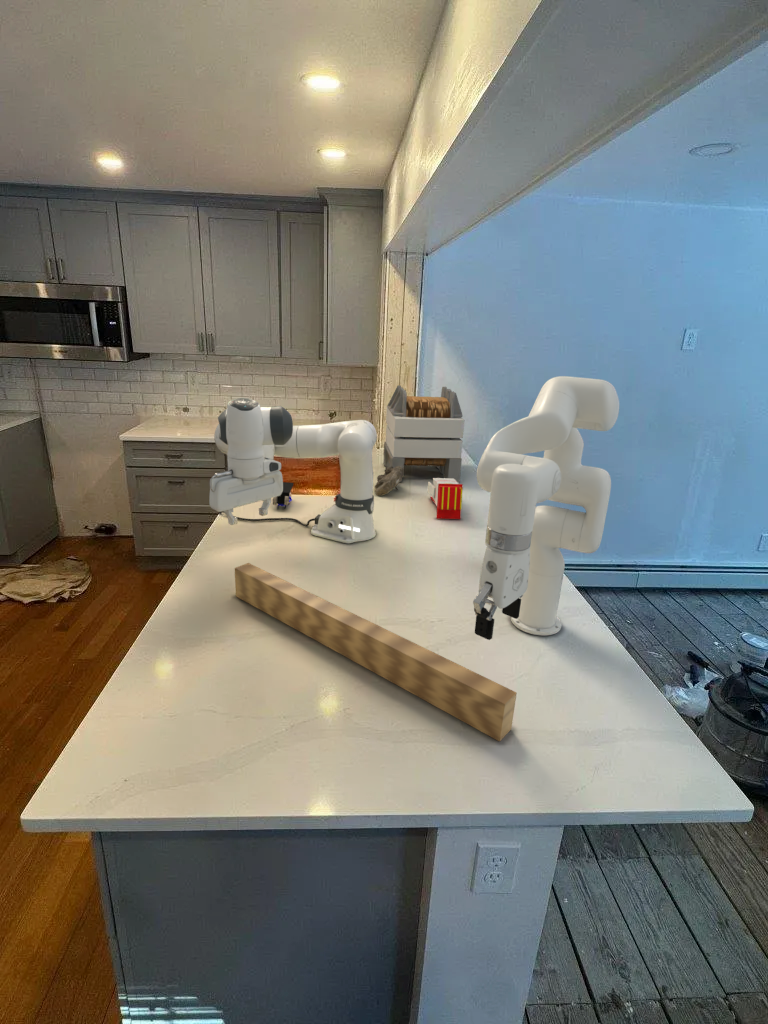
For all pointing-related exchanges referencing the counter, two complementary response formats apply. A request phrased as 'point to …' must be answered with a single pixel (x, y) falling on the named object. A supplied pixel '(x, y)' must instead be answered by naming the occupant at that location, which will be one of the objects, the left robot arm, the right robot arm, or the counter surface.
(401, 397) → the grey crate shelf
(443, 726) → the counter surface
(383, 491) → the fossil
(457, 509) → the toy
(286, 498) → the figurine character
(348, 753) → the counter surface
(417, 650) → the post
